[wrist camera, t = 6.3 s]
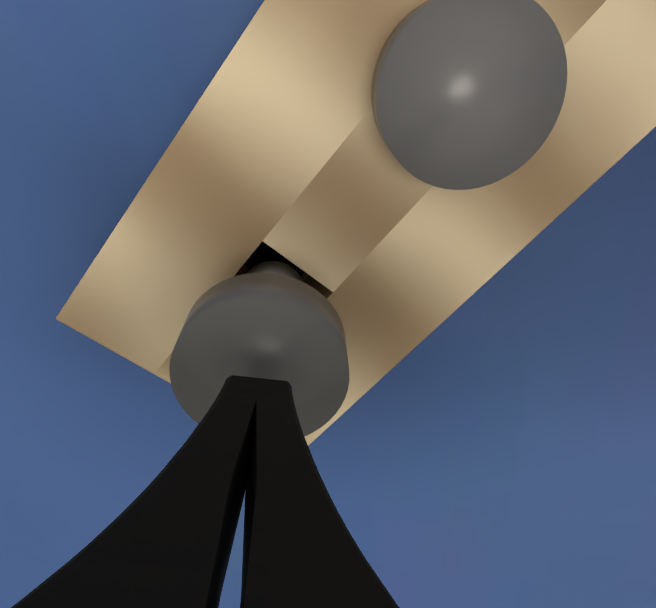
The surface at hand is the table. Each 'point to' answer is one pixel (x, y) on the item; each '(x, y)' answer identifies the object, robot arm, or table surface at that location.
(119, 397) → the table surface
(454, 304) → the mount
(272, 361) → the plunger
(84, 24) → the table surface
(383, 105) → the plunger
